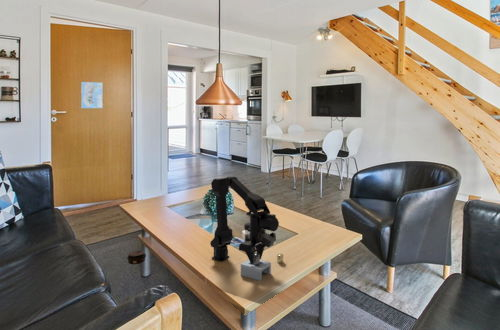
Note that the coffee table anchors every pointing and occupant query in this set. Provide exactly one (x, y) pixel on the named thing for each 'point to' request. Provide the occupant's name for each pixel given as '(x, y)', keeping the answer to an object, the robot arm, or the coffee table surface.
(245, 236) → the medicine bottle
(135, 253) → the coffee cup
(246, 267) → the frame
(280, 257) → the short pin
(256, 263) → the long pin
